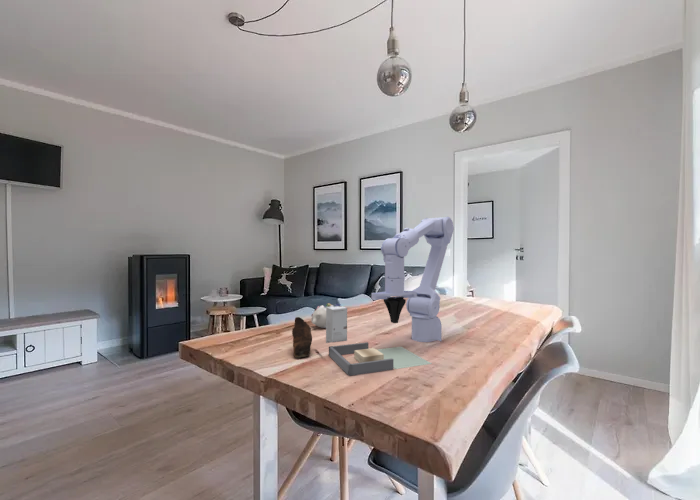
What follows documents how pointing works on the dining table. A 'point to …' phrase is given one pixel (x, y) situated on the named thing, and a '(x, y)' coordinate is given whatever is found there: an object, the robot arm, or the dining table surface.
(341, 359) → the box
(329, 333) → the skincare box
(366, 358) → the birch tile
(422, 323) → the robot arm
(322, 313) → the cat figurine
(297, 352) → the decorative rock
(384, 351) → the far plate
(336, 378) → the dining table surface
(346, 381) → the dining table surface
